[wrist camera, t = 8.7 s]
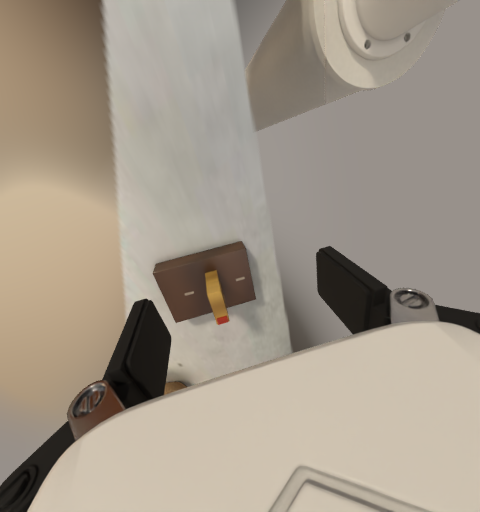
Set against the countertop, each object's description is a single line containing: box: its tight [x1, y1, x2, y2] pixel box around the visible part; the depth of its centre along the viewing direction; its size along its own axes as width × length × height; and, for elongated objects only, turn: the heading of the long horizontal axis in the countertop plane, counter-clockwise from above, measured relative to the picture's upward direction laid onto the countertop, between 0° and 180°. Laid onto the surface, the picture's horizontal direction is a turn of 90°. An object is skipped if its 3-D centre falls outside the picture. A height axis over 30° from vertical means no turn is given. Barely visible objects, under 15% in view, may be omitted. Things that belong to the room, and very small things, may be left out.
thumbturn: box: [205, 270, 229, 325], centre depth 30 cm, size 6×2×6 cm, turn 11°
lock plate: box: [153, 241, 256, 323], centre depth 34 cm, size 14×10×3 cm
